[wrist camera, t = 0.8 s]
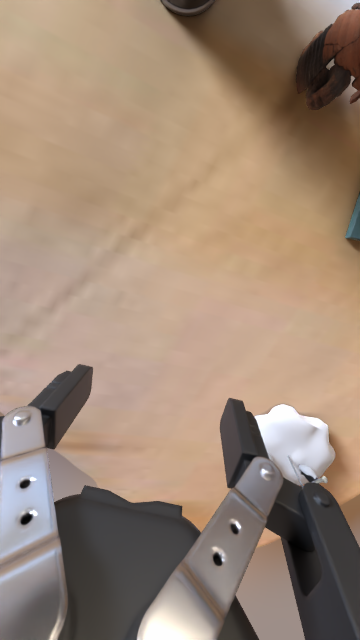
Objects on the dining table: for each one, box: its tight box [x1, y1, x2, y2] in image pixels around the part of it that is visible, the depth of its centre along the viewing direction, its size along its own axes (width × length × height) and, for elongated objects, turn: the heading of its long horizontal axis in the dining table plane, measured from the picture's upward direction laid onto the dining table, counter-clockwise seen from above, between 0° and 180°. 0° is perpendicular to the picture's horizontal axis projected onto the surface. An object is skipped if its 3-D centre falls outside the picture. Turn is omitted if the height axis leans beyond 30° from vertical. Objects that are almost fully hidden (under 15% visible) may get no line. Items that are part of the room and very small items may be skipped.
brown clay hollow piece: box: [296, 3, 360, 110], centre depth 30 cm, size 12×10×8 cm
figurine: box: [255, 404, 335, 487], centre depth 39 cm, size 20×18×16 cm
